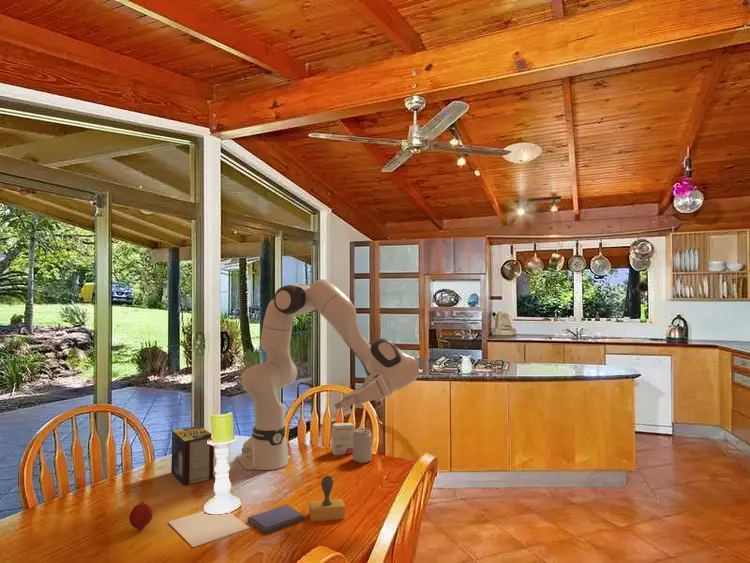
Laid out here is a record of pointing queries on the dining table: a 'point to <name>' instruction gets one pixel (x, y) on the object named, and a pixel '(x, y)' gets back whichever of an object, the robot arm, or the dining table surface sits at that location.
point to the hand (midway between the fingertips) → (339, 406)
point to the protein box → (192, 455)
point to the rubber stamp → (326, 505)
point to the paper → (207, 527)
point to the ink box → (342, 438)
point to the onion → (140, 515)
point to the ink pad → (276, 519)
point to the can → (362, 445)
